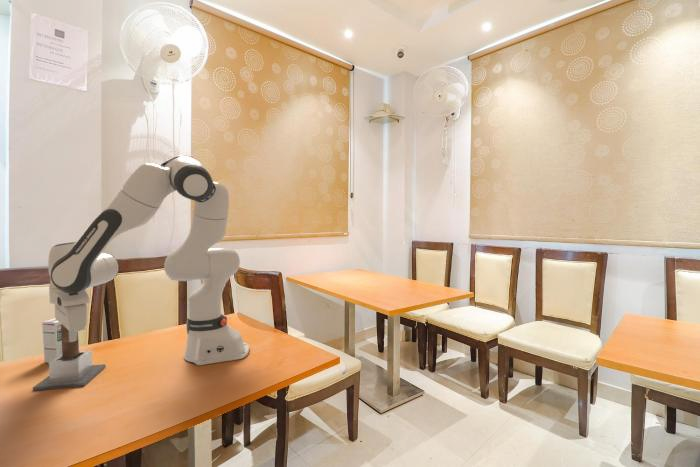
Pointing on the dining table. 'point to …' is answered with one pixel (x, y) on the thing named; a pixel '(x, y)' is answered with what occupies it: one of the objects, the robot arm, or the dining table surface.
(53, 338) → the syrup box
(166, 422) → the dining table surface
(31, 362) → the dining table surface
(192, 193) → the robot arm
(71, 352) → the walnut peg
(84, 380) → the square collar
